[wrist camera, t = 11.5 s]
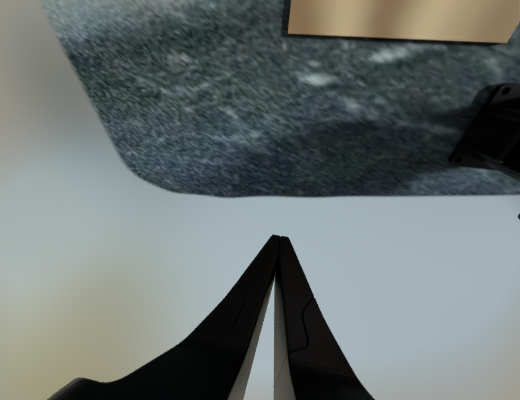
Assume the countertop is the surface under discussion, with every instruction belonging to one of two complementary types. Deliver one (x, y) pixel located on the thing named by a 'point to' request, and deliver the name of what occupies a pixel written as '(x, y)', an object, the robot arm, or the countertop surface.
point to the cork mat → (407, 19)
